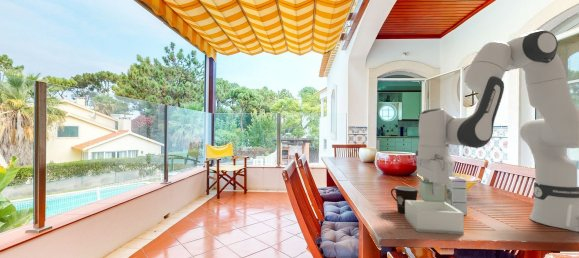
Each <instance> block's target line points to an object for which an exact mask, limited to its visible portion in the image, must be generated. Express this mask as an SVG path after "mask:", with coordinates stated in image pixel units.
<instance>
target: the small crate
mask: <svg viewBox="0 0 579 258" xmlns="http://www.w3.org/2000/svg"><path fill="white" fill-rule="evenodd" d="M433 187H434V185H433V182H432V181H423V180H418V198H419V199H421V201H425V202H442V203H445V185H441V188H440V190H439V196H436V195H433V194H432V189H433Z"/></svg>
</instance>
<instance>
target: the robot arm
mask: <svg viewBox="0 0 579 258" xmlns="http://www.w3.org/2000/svg"><path fill="white" fill-rule="evenodd" d="M558 43H559V42H558V39H557V37H556V35H555V34H553V33H552V32H551V31H549V30H547V29H546V30H545V29H540V30H535V31H531V32H529V33H528V34H523V35H520V36H517V37H515V38H512V39H511V40H509V41H507V42H503V41H499V40H498V41H496V40H495V41H490V42H488V43H485V44H484V45H483V46H482V47H481V49H480V50H479V51H478V52H477V54H475V57H474V58H473V59H472V62H471V63H470V65H469V66H468V69H467V70H466V73H465V76H464V83H465V85H466V87H467V88H468V89H469V90H470V91H473V92H474V93H475V94H479V97H478V101H477V103H476V106H475V109H474V112H473V113H472V114H471V115H469V116H467V117H460V118H459V117H456V116H452V115H451V114H449V113H448V112H447V111H446V109H444V108H439V107H438V108H432V109H426V110H423V111H422V112H421V113H420V115H419V119H418V137H419V141H418V145H417V147H418V148H417V150H415V157H416V171H417V175H418V176H419V177H422V181H432V182H433V185H434V187H433V189H432V194H433V195H436V196H439V190H440V188H441V185H447V184H448V182H449V171H448V164H447V162H446V161H445V159H446V144H449V145H451V146H460V147H461V146H463V147H469V148H473V149H479V148H483V147H484V146H486V145H488V144H489V142H490V141H491V139H492V137H493V134H494V126H495V125H494V124H495V119H496V117H497V114H498V112H499V111H498V110H499V108H500V104H501V102H502V100H503V99H502V98H503V95H504V90H505V83H504V80H503V77H504V75H505V74H506V72H509V71H512V70H517V69H522V70H523V71H524V78H525V85H526V90H527V94H528V95H527V96H528V101H529V104H530V106H531V107H532V108H534V109H536V111H538V112H539V114H541V116H542V118H537V119H533V120H530V121H526V122H525V123H524V124H522V126H521V127H520V131H519V135H520V137H521V139H522V140H523V142H525V143H526V144H527V145H528V147H529V150H530V152H531V154H532V157H533V160H534V167H535V168H534V169H535V171H534V173H535V177H534V178H535V181H534V182H533V194H534V195H533V196H534V200H533V207H532V210H531V213H530V216H529V219H530V220H531V221H534V222H536V223H539V224H542V225H546V226H549V227H554V228H560V229H564V230H569V231H571V232H572V231H573V232H577V233H578V232H579V185H578V165H577V164H576V163H575V161H573V160H572V159H571V158H570V156H568V154H567V152H566V150H565V149H579V108H578V106H576V104H575V103H574V101H573V98H572V95H571V91H570V87H569V83H568V79H567V73H566V68H565V67H564V64H563V60H561V57H560V55H559V54H558V53H557V52H558V47H559V46H558V45H559V44H558Z"/></svg>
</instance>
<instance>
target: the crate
mask: <svg viewBox="0 0 579 258" xmlns="http://www.w3.org/2000/svg"><path fill="white" fill-rule="evenodd" d="M464 217H465V215H464V213H463V212H461V211H459V210H458V209H456V208H455V207H453V206H451V205H450V204H448V203H446V202H445V203H442V202H425V201H423V200H419V199H417V200H405V215H404V219H405V220H406V221H407V222H408V223H409V225H411V227H412V228H413V229H414V230H415V231H416V232H417V233H431V234H433V233H434V234H447V235H448V234H449V235H465V234H464V233H465V231H464V228H465V225H464V221H465V219H464Z"/></svg>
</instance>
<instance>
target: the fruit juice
mask: <svg viewBox="0 0 579 258" xmlns="http://www.w3.org/2000/svg"><path fill="white" fill-rule="evenodd" d="M449 148H450V144H446V159H445V161H446V162H447V164H448V171H449V177H456V175H455V171H454V169H455V166H456V163H455V160H454V159H453V157H452V156H451V153H450V149H449ZM445 202H446V203H447V185H445Z"/></svg>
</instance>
